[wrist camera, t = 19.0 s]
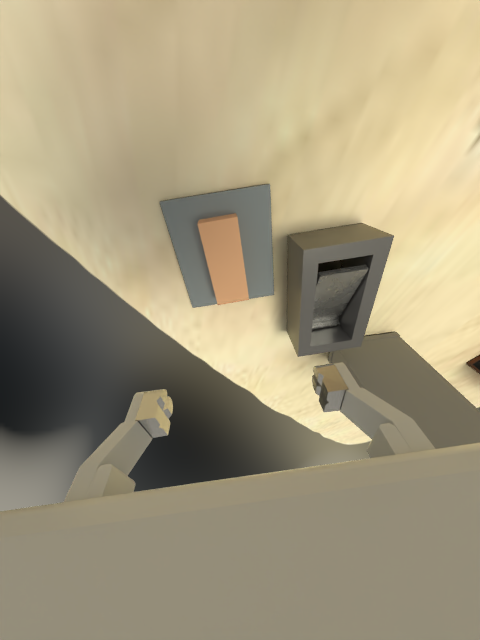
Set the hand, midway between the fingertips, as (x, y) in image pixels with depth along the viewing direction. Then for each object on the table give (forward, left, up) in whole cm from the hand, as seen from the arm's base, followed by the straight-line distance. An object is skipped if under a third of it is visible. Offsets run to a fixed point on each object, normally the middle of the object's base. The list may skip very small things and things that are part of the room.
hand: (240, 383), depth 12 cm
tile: (0, +2, -24) cm, 24 cm away
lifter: (-15, +10, -20) cm, 27 cm away
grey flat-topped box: (-26, +26, -25) cm, 44 cm away
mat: (0, +1, -24) cm, 24 cm away
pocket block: (-15, +9, -24) cm, 30 cm away
